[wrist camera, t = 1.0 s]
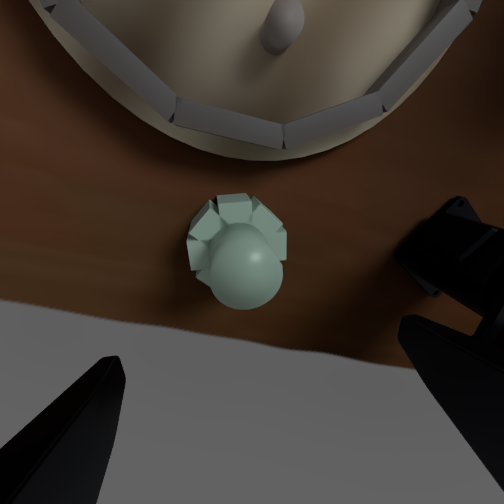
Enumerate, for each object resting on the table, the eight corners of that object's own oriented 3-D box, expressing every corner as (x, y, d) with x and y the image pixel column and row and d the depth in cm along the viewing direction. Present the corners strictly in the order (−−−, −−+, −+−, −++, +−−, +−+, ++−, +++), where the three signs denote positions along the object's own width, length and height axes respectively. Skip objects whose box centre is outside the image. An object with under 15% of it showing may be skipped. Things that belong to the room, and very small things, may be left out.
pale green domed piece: (293, 231, 19) (329, 268, 13) (238, 289, 20) (251, 345, 14) (229, 174, 16) (241, 190, 11) (172, 243, 17) (157, 289, 12)
